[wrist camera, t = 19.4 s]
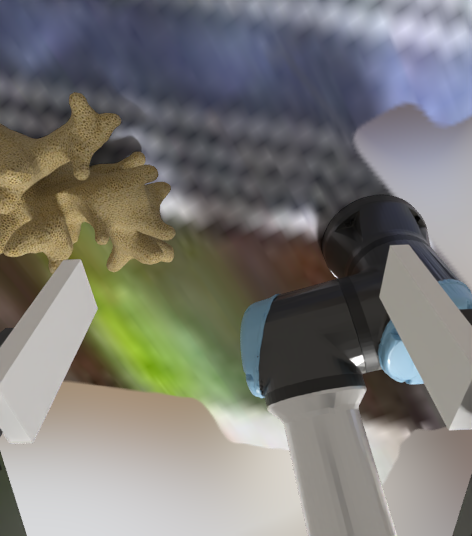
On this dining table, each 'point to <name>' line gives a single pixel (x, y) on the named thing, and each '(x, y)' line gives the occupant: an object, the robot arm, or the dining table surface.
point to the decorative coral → (79, 194)
